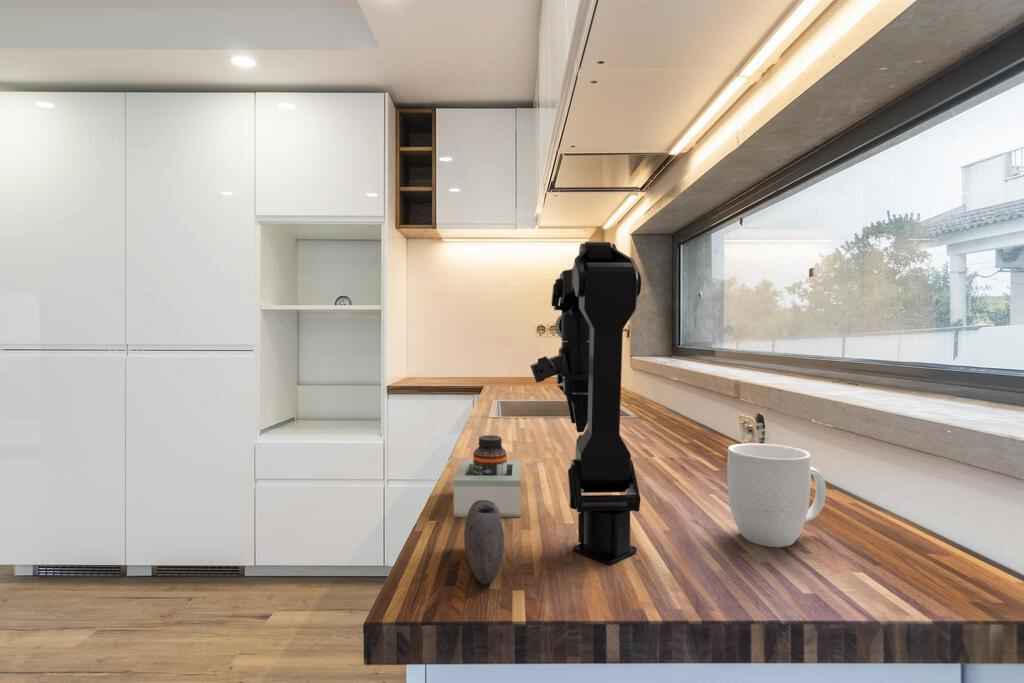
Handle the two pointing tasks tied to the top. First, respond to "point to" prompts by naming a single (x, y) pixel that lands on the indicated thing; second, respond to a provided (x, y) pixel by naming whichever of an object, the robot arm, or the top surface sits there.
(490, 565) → the perforated stone tool
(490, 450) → the supplement bottle
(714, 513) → the top surface
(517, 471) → the green and cream box
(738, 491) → the mug
